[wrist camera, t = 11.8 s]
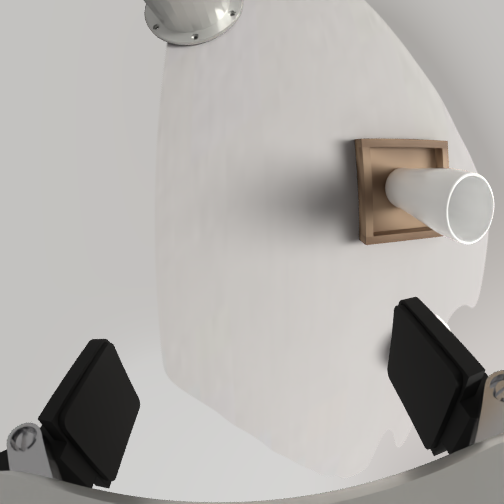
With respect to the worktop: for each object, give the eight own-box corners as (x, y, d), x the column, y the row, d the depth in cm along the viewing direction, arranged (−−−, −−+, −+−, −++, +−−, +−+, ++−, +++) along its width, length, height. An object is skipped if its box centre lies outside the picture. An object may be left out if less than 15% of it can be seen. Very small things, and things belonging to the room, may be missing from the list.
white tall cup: (370, 173, 35) (436, 188, 21) (411, 154, 34) (486, 161, 20) (388, 221, 37) (453, 258, 23) (427, 200, 36) (500, 226, 22)
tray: (354, 139, 35) (361, 138, 32) (437, 141, 34) (447, 141, 32) (359, 239, 39) (366, 244, 36) (438, 231, 38) (447, 235, 36)
